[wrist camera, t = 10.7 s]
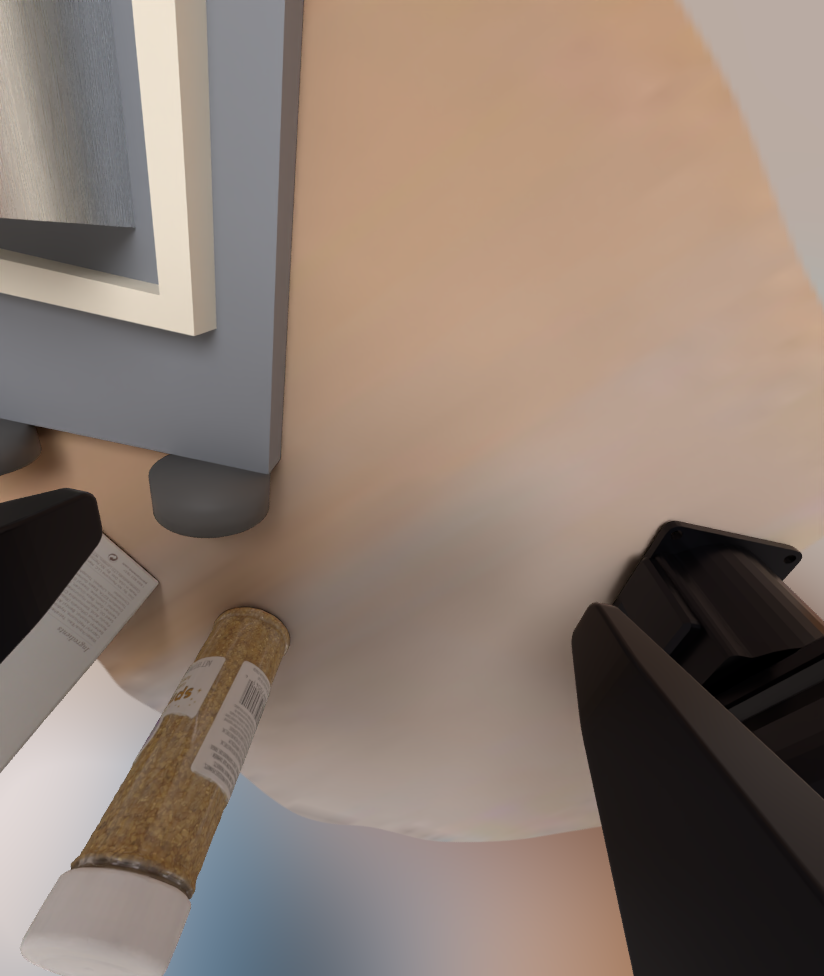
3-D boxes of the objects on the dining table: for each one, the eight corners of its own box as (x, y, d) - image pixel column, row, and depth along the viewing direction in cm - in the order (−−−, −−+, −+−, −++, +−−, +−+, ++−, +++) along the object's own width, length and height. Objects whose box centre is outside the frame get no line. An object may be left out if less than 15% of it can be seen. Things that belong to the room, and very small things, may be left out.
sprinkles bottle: (214, 597, 23) (-11, 941, 12) (294, 611, 24) (150, 963, 12) (219, 649, 26) (35, 980, 14) (291, 661, 26) (169, 998, 14)
